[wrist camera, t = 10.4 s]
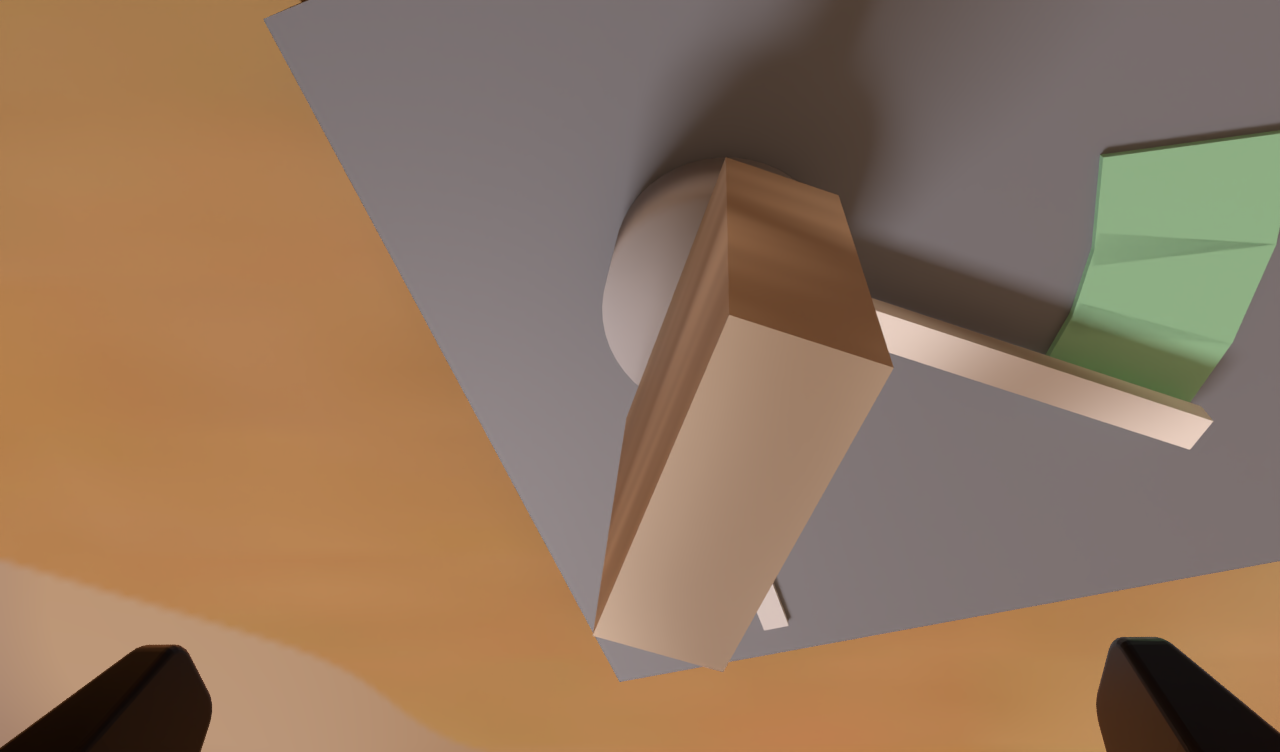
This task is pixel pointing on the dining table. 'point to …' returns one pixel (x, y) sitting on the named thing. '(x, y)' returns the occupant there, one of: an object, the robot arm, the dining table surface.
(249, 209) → the dining table surface
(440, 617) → the dining table surface
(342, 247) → the dining table surface
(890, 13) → the tuner dial board
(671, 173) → the tuning peg
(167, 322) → the dining table surface
